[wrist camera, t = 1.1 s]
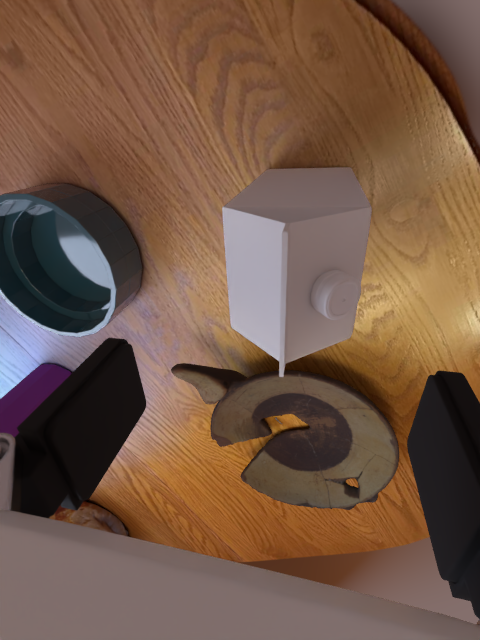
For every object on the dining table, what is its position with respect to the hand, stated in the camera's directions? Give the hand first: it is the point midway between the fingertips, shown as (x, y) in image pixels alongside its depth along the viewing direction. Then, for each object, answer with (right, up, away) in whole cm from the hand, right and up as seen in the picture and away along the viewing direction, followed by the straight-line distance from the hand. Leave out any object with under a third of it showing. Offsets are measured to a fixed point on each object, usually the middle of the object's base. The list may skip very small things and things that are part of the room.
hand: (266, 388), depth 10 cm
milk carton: (+5, +12, +19) cm, 24 cm away
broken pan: (+6, -9, +32) cm, 34 cm away
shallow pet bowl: (-19, +10, +27) cm, 34 cm away
